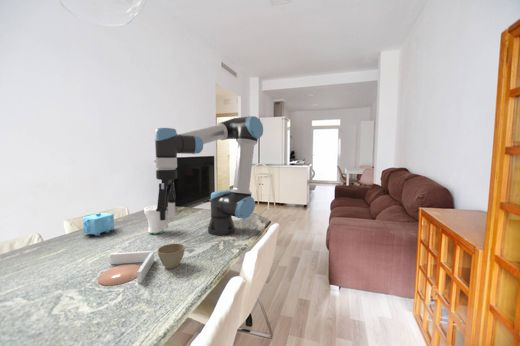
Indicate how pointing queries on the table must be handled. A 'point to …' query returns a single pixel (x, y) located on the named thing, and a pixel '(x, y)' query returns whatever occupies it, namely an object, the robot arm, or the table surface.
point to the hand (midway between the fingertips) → (167, 222)
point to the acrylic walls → (133, 258)
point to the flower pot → (171, 255)
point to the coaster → (118, 274)
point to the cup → (153, 219)
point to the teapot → (98, 223)
